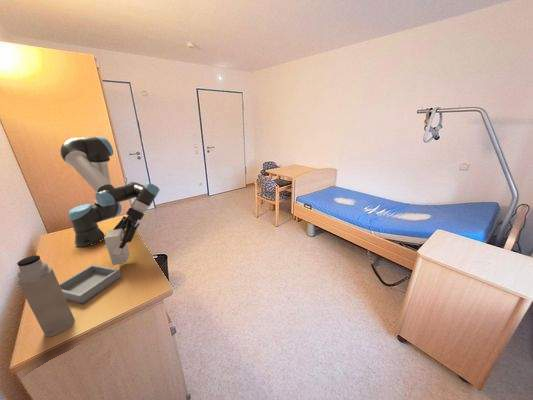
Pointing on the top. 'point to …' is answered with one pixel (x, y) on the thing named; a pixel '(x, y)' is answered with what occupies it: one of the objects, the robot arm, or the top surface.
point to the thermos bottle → (44, 295)
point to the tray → (89, 283)
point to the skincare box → (112, 241)
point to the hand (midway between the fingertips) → (111, 250)
